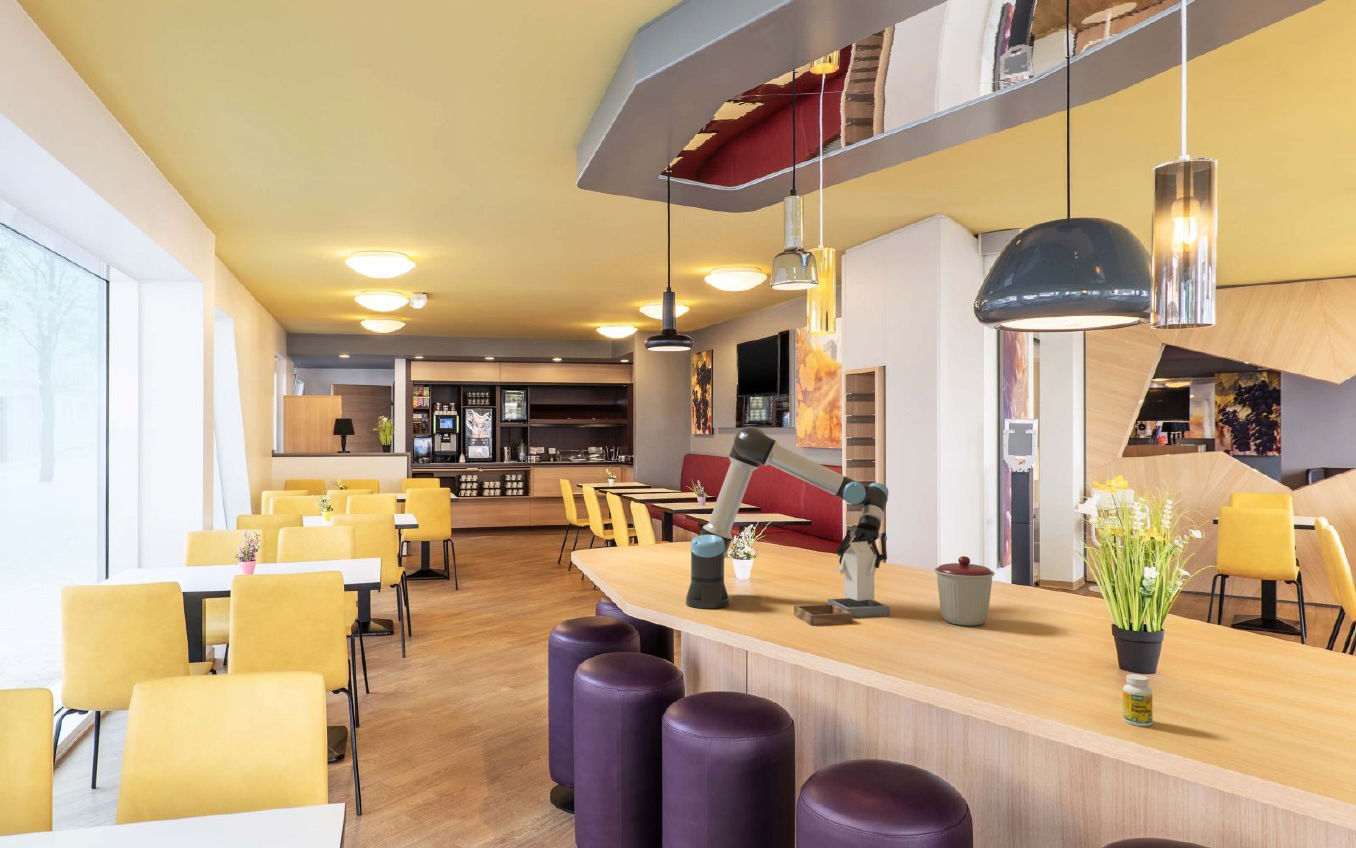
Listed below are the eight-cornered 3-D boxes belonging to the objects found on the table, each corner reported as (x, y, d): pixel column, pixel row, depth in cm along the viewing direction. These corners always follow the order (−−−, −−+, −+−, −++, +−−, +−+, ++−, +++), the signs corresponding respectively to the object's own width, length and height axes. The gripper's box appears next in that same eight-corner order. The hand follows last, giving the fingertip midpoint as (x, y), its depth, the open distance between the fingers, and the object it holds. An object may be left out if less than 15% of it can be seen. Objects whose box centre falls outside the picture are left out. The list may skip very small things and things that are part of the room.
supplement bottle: (1146, 718, 170) (1146, 673, 170) (1157, 728, 164) (1157, 681, 164) (1118, 717, 170) (1119, 672, 171) (1129, 726, 165) (1129, 680, 165)
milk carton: (844, 597, 269) (844, 541, 270) (861, 595, 272) (860, 540, 273) (857, 601, 263) (857, 544, 263) (874, 599, 266) (874, 542, 266)
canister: (985, 616, 262) (985, 552, 262) (1002, 630, 244) (1002, 561, 244) (928, 615, 263) (929, 551, 264) (941, 628, 245) (941, 560, 246)
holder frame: (794, 615, 262) (794, 606, 262) (833, 613, 266) (833, 604, 266) (811, 625, 249) (811, 615, 249) (852, 623, 252) (852, 613, 252)
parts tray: (828, 607, 273) (828, 599, 273) (867, 605, 277) (867, 597, 277) (847, 618, 259) (847, 608, 259) (889, 615, 262) (889, 606, 262)
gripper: (904, 530, 275) (891, 583, 262) (842, 526, 287) (827, 576, 273) (900, 516, 271) (887, 569, 257) (837, 512, 282) (821, 563, 268)
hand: (856, 573), depth 265 cm, fingers closed on milk carton, 10 cm apart
